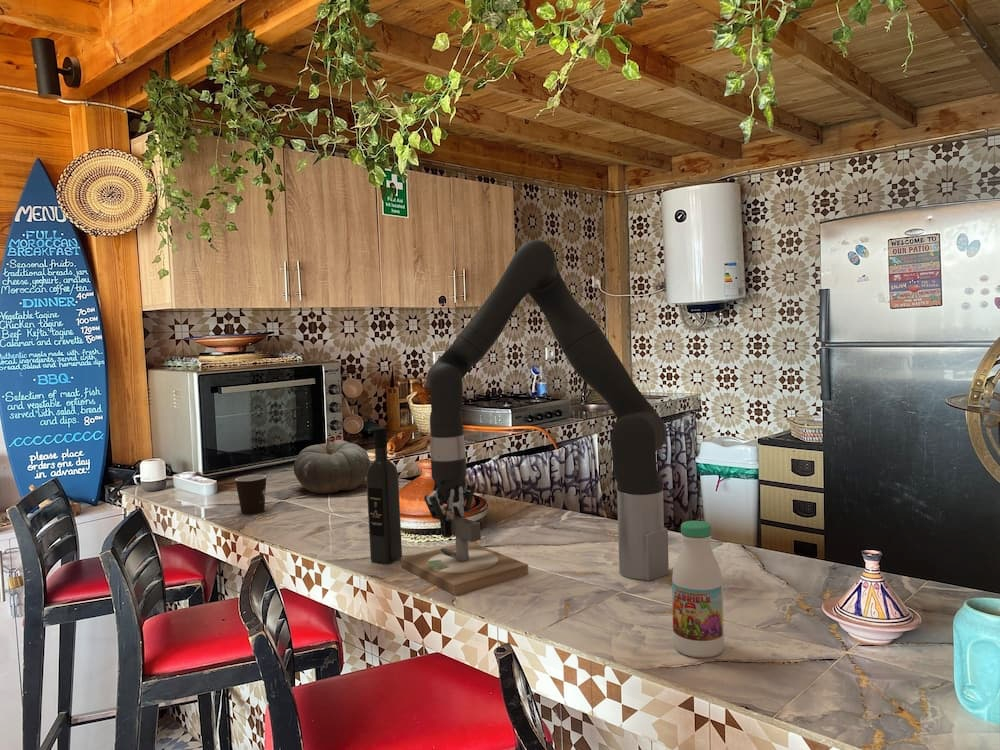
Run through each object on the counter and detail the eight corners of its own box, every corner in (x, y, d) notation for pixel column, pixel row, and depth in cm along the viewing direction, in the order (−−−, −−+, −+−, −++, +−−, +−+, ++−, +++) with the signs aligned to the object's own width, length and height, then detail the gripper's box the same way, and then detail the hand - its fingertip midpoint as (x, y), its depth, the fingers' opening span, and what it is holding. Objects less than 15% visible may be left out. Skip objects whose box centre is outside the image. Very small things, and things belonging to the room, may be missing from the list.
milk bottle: (674, 635, 121) (672, 516, 120) (723, 639, 119) (721, 518, 117) (671, 656, 114) (668, 529, 112) (724, 661, 111) (721, 531, 110)
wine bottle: (388, 565, 163) (381, 430, 160) (368, 561, 165) (361, 429, 163) (404, 557, 168) (397, 426, 165) (384, 554, 170) (377, 425, 168)
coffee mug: (256, 516, 210) (253, 481, 209) (231, 514, 213) (228, 480, 212) (280, 506, 221) (278, 473, 220) (256, 504, 224) (254, 472, 223)
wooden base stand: (528, 573, 153) (527, 562, 153) (455, 595, 143) (454, 583, 143) (470, 549, 171) (469, 539, 171) (401, 567, 161) (400, 556, 161)
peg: (482, 562, 154) (480, 522, 153) (472, 565, 152) (470, 525, 152) (447, 550, 164) (445, 512, 163) (437, 552, 162) (435, 514, 161)
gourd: (351, 469, 261) (348, 422, 256) (388, 491, 242) (385, 441, 237) (284, 488, 245) (279, 439, 241) (317, 513, 227) (313, 461, 222)
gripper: (436, 463, 150) (441, 546, 151) (483, 452, 161) (487, 529, 162) (412, 460, 155) (416, 540, 156) (458, 449, 166) (462, 524, 167)
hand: (452, 534), depth 159 cm, fingers closed on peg, 3 cm apart
